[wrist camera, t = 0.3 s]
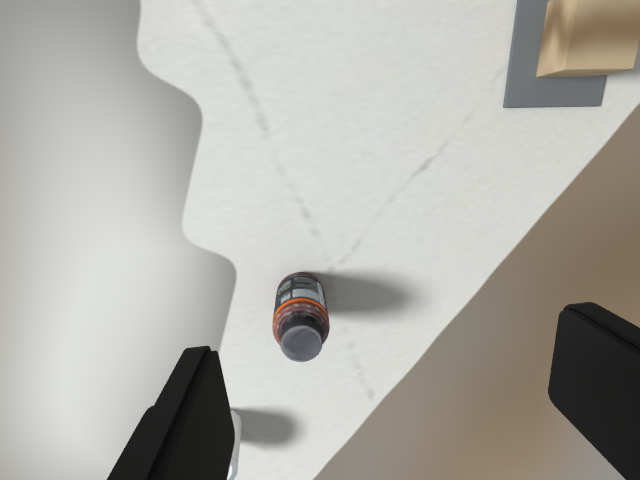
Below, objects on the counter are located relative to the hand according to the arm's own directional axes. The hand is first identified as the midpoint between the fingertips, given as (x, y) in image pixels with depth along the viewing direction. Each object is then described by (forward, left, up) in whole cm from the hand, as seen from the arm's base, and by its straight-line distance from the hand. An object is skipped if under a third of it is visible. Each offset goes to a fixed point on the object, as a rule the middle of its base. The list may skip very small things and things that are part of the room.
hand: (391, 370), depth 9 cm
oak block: (-16, +27, -30) cm, 43 cm away
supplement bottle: (+12, -3, -31) cm, 33 cm away
